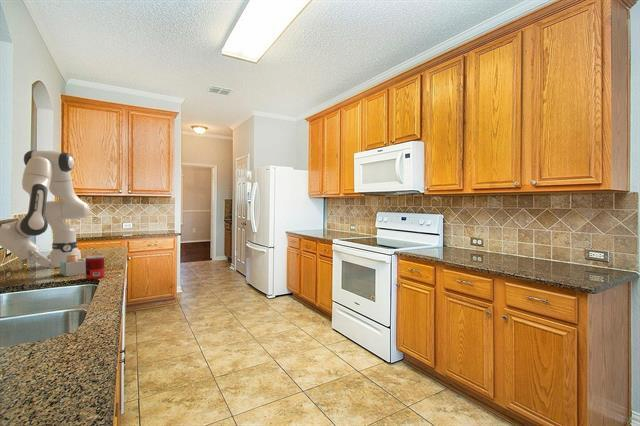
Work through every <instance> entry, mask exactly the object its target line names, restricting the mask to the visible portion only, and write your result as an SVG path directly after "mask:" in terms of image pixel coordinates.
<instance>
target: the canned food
mask: <svg viewBox="0 0 640 426" xmlns="http://www.w3.org/2000/svg"><path fill="white" fill-rule="evenodd" d="M85 259H86V274H85V279H86V280H99V279H103V278H104V277H105V255H104V254H102V255H101V254H100V255H99V254H97V255H94V254H93V255H88V256H85Z"/></svg>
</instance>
